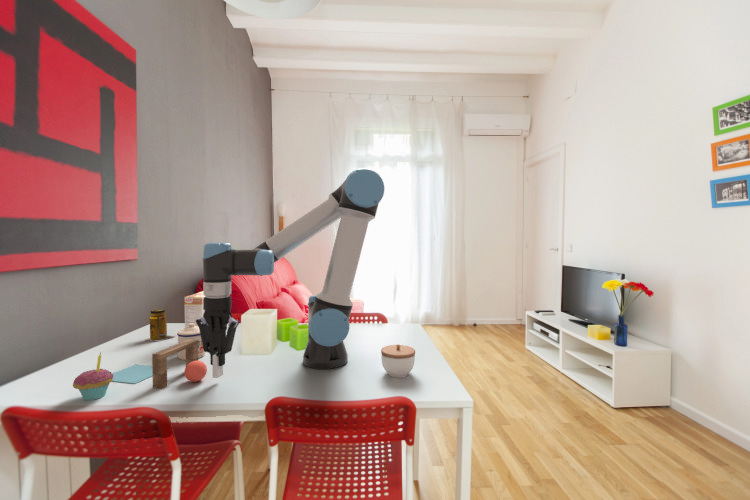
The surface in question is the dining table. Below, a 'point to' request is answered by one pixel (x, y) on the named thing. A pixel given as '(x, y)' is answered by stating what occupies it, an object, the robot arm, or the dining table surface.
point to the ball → (195, 371)
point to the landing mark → (133, 374)
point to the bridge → (161, 360)
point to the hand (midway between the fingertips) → (217, 376)
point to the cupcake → (93, 382)
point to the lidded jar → (398, 360)
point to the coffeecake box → (193, 308)
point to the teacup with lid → (193, 334)
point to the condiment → (158, 325)
